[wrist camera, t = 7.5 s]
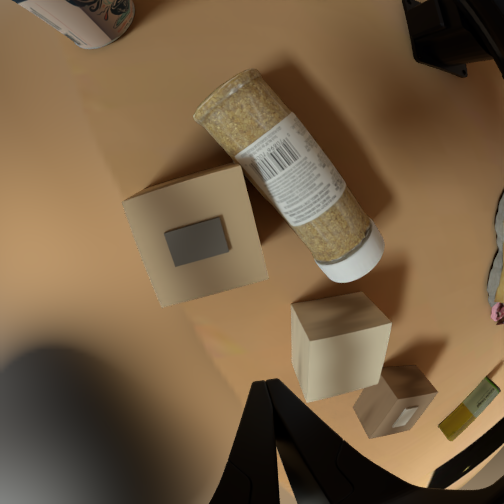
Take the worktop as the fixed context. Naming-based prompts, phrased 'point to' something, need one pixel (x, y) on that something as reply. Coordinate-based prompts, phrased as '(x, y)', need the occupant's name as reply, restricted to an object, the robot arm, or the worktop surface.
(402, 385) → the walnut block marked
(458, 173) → the worktop surface
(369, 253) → the granule seasoning jar
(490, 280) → the pastel sphere sculpture
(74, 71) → the worktop surface
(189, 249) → the oak block marked
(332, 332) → the plain birch block
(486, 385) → the medication box
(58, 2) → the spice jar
